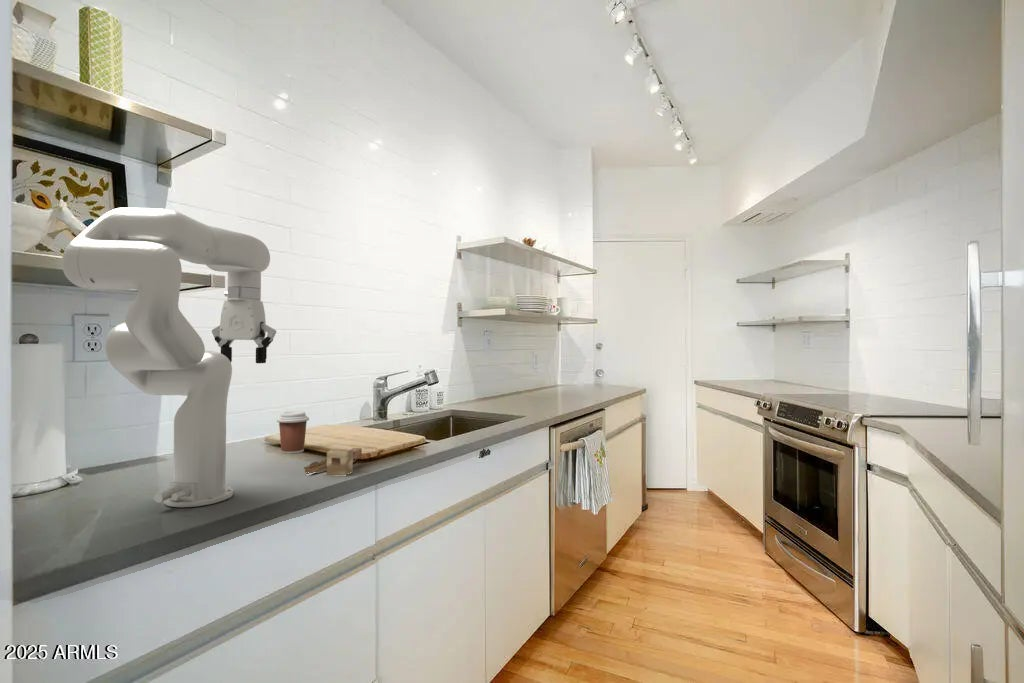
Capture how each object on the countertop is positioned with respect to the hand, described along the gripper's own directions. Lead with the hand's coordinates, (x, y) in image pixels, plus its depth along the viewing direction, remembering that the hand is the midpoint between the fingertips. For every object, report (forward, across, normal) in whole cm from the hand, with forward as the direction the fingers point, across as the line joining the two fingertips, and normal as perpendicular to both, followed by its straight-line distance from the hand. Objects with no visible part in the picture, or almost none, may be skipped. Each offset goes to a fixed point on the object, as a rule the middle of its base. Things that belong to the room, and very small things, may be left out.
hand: (243, 362), depth 128 cm
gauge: (+28, +24, +9) cm, 38 cm away
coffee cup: (+28, -3, +27) cm, 39 cm away
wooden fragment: (+29, +17, +14) cm, 36 cm away
